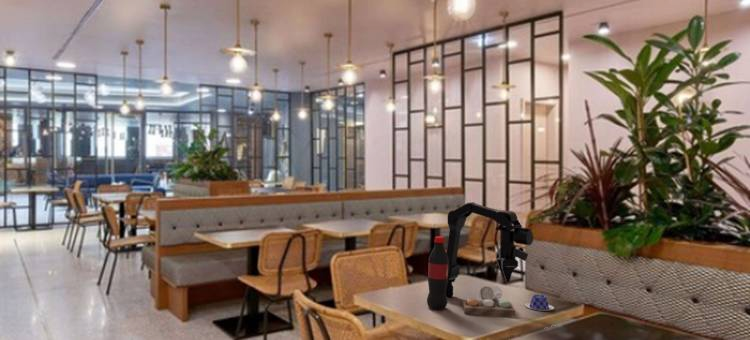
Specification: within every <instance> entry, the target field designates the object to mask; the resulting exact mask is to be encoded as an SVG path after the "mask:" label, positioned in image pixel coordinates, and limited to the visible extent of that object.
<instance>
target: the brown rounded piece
mask: <svg viewBox="0 0 750 340" xmlns="http://www.w3.org/2000/svg"><path fill="white" fill-rule="evenodd" d="M466 300H467V305H468V306H478V301H479V300H478V299H476V298H466Z"/></svg>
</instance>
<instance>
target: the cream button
mask: <svg viewBox="0 0 750 340" xmlns="http://www.w3.org/2000/svg"><path fill="white" fill-rule="evenodd" d="M482 301H483V306H486V307H493V305H494V301H493V300H488V299H485V300H482Z"/></svg>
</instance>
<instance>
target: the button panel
mask: <svg viewBox="0 0 750 340" xmlns="http://www.w3.org/2000/svg"><path fill="white" fill-rule="evenodd" d="M461 301H462V303H461V305H462V309H463V313H464V315H476V314H479V316H481V315H482V316H493V315H496V316H498V317H510V316H513V317H512V318H514V317H515V316H516V310H515V309H514V306H513V305H512V303H511V302H510V306H509V308H503V307H498V306H499V301H496V300H495V301H494V305H493V307H486V306H483V300H478V306H468V305H467V299H462V300H461ZM480 314H481V315H480Z"/></svg>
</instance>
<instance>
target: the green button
mask: <svg viewBox="0 0 750 340" xmlns="http://www.w3.org/2000/svg"><path fill="white" fill-rule="evenodd" d="M498 302H499V306H498V307H503V308H509V306H510V303H511V302H510V301H508V300H503V299H499V300H498Z"/></svg>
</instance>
